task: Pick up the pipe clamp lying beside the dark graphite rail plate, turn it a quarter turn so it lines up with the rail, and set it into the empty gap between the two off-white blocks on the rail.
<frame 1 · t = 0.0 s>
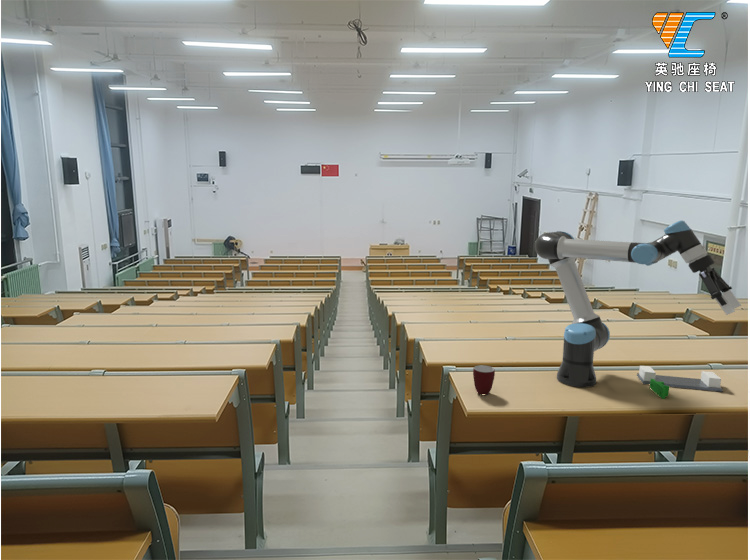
hand: (734, 310, 166), 36 cm above the table, fingers open, 13 cm apart
mounting rail: (677, 383, 193), on the table
pipe clamp: (660, 394, 183), on the table
mug: (481, 392, 184), on the table
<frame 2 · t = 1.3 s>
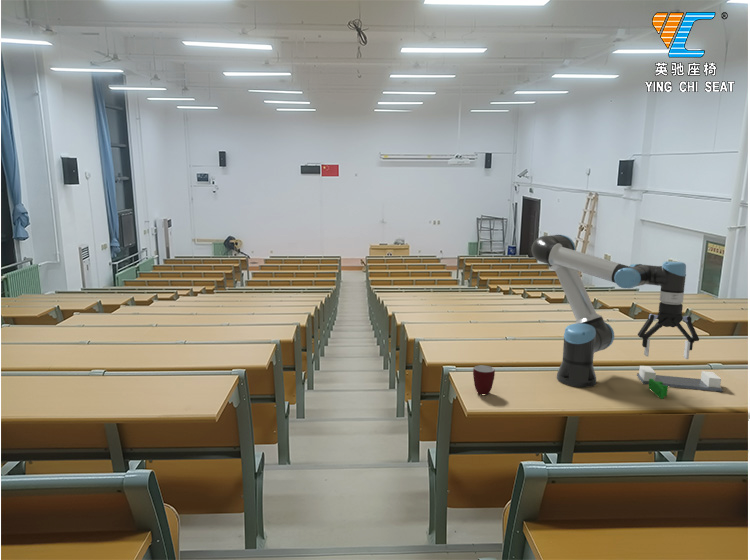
hand: (665, 356, 180), 15 cm above the table, fingers open, 13 cm apart
nothing on the table moved.
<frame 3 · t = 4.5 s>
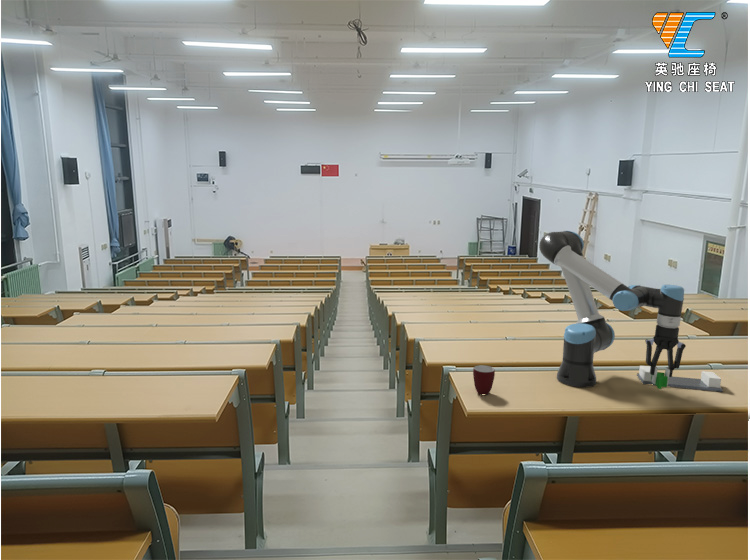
hand: (659, 383, 183), 4 cm above the table, fingers closed on pipe clamp, 3 cm apart
pipe clamp: (659, 385, 183), point 3 cm above the table, touching gripper
everything else where it was.
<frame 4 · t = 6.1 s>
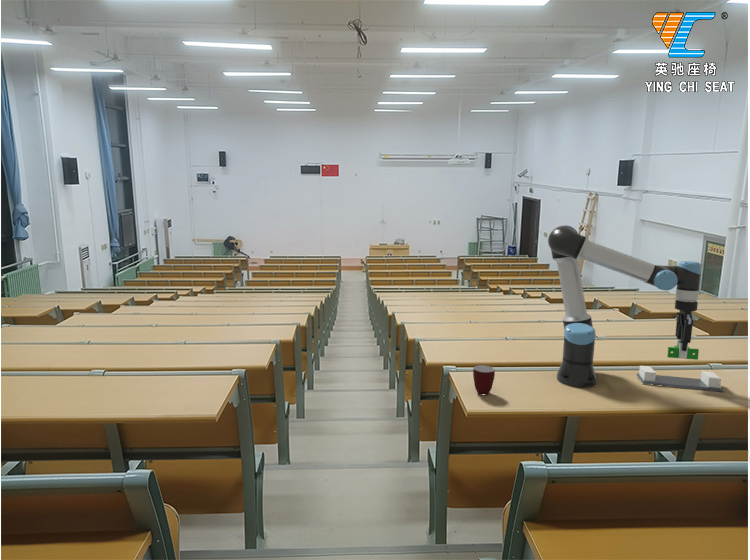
hand: (680, 356, 191), 12 cm above the table, fingers closed on pipe clamp, 3 cm apart
pipe clamp: (681, 357, 190), point 11 cm above the table, touching gripper
everything else where it was.
when the fingers open (2 cm above the table, at t = 7.9 s): pipe clamp stays where it is, resting on mounting rail.
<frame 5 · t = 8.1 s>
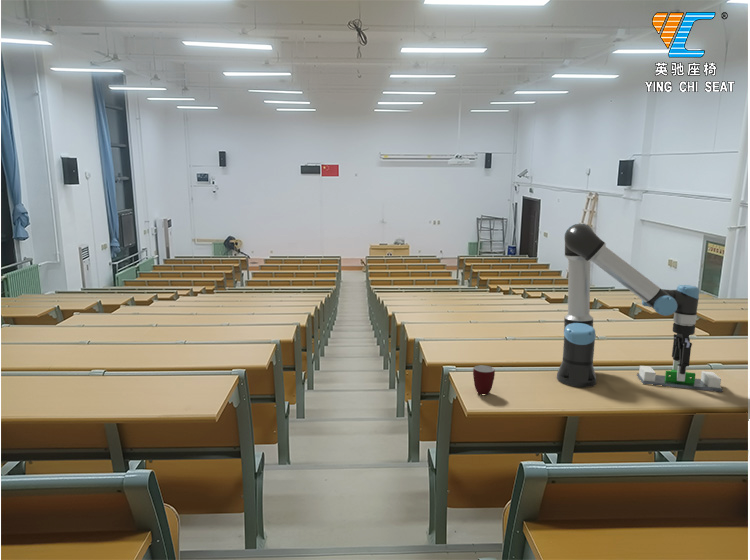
hand: (678, 378, 193), 2 cm above the table, fingers open, 5 cm apart
pipe clamp: (678, 381, 193), point 1 cm above the table, touching mounting rail
everything else where it was.
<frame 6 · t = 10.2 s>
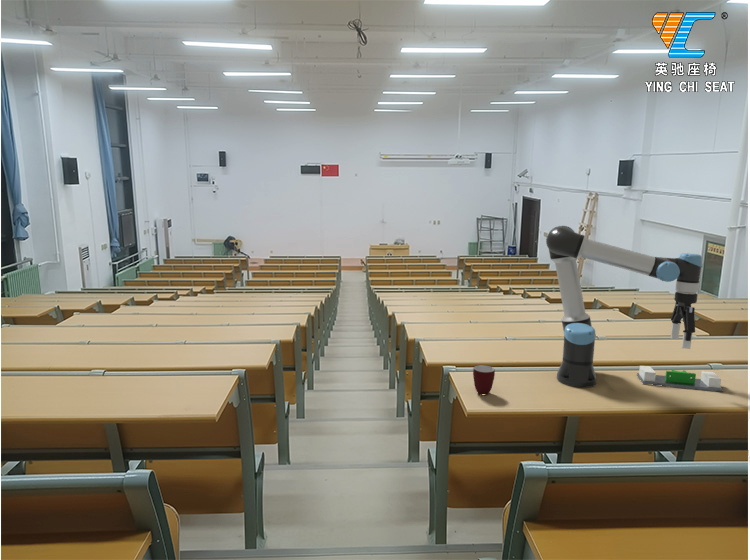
hand: (680, 343, 191), 17 cm above the table, fingers open, 13 cm apart
nothing on the table moved.
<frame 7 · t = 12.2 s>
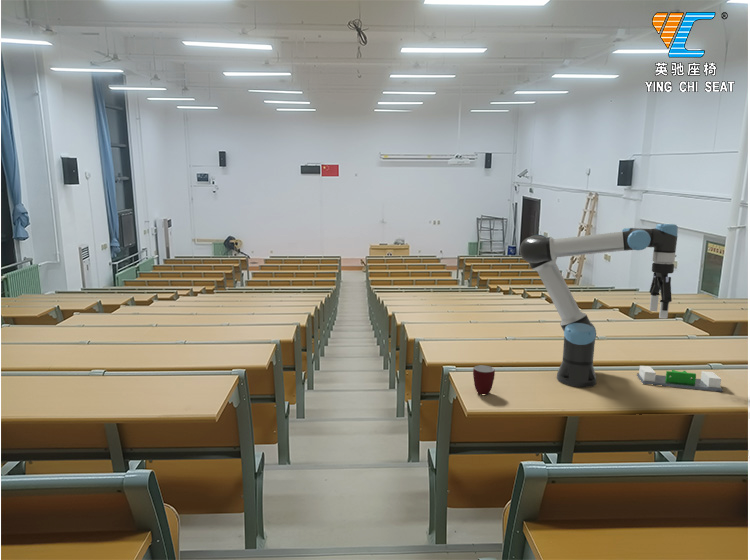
hand: (658, 314, 191), 29 cm above the table, fingers open, 13 cm apart
nothing on the table moved.
at the end: pipe clamp 0.8 cm off-centre on the mounting rail, point 1.0 cm above the mounting rail's base; pipe clamp touching mounting rail; the gripper is holding nothing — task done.
